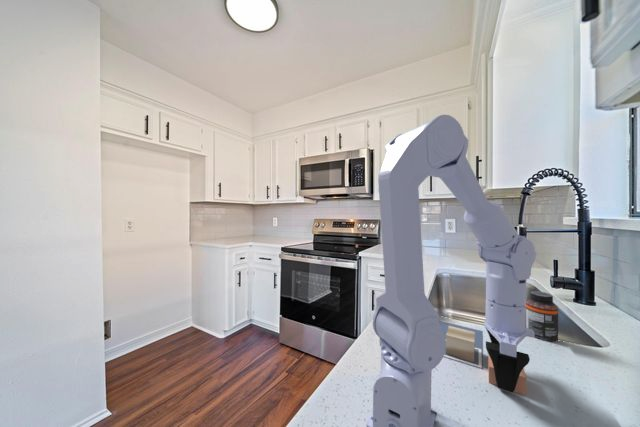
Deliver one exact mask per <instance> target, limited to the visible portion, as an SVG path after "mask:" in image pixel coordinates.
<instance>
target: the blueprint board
mask: <svg viewBox="0 0 640 427" xmlns="http://www.w3.org/2000/svg"><path fill="white" fill-rule="evenodd" d="M439 325H440V328H441V330H442V332H443V334H444V336H445V340H446V334H447V330H448V327H449V326H452V327H456V328H460V329H464V330H468V331H472V332H475V351H474V362H471V361H468V360H464V359H461V358H458V357H455V356H451V355H448V354H446V348H445V353H444V356H443V358H446V359H448V360H451V361H454V362H458V363H460V364H464V365H467V366H471V367H474V368H477V369H480V370H484V349H483V348H484V346H483V345H484V344H483V343H484V341H483V337H484V336H483V335H484V334H483V330H481V329H480V330H479V329H474V328H471V327H467V326H463V325H460V324H459V325H458V324H456V323H450V322H446V321H443V320H442V321H441V320H439Z"/></svg>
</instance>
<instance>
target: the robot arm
mask: <svg viewBox="0 0 640 427" xmlns="http://www.w3.org/2000/svg"><path fill="white" fill-rule="evenodd" d="M459 122H460V121H458V120H457V119H456V118H455V117H453V116H452V115H449V114H441V115H438V116H435V118H433V119H431V120H429V121H427V122H425V123H423V124H421V125H418V126H417V127H414V128H412V129H410V130H408V131H406V132H403V133H399V134H398V135H396V136H395V137H393V138H392V139H391V140H390V141H389V142H388V143H387V144H386V145H385V146H384V147H385V157H384V159H383V163H382V165H381V168H380V170H379V173H378V178H377V179H378V180H377V181H378V193H379V194H378V195H379V198H378V199H379V210H380V212H379V213H380V226H381V227H380V228H381V242H382V255H383V256H382V258H383V269H384V270H383V271H384V287H385V291H384V292H382V293H381V294H379V295H378V296H377V297H376V298H375V300H376V303H375V304H376V307H375V312H374V314H373V317H372V328H373V331H374V333H375V335H376V336H377V337H379V347H380V370H379V374H378V375H377V378H376V380H375V382H374V384H373V389H372V390H373V393H372V394H373V395H372V402H373V403H372V412H371V413H370V415H369V417H368V418H367V421H366V423H365V424H366V427H434V426H435V421H436V417H437V412H436V411H434V410H432V372H433V371H432V370H434V369H436V368H437V366H438V365H439V364H440V363H441V362H442V360H443V358H444V357H443V356H444V353H445V348H446V340H445V336H444V334H443V332H442V330H441V328H440V325H439V321H440V319H439V318H440V317H439V316H440V315H439V313H438V312H437V310H436V308H435V306H434V305H433V304H432V303H431V301H430V300H429V298H428V297H427V296H426V293H425V276H424V264H423V263H424V260H423V249H422V248H423V244H422V230H421V227H422V226H421V212H420V210H421V209H420V196H419V189H420V185H422V183H423V182H425V180H426V179H427V178H428V177H433V178H439V179H440V180H441V181H442V182H443V184H444V185H445V186H446V188H448V190H449V191H450V192H451V194H452V195H453V196H454V197H455V198H456V200H457V201H458V202H459V203H460V204H461V206H462V207H463V208H464V210H465V211H464V214H463V220H464V222H465V223H466V224H465V225H467V227H469V229H470V231H471V232H472V234H473V235H474V237H475V239H476V244H477V252H478V256H479V258H480V259H482V261H484V262H485V263H486V265H485V266H486V269H485V270H486V271H485V273H486V275H485V316H484V318H485V319H484V320H483V326H484V328H485V329H486V332H487V334H488V336H489V339H490V341H487V340H486V341H485V348H486V349H485V350H486V352H487V354H489V356H490V358H491V360H492V363H493V366H494V372H495V378H496V383H497V385H496V386H497V388H498V389H500V390H504V391H506V392H509V393H514V392H515V391H514V390H515V387H516V384H517V381H518V378H519V375H520V373H521V371H522V369H523V368H524V369H525V367H526V366H527V365H528V364H529V363H530V356H529V354H528V353H525V352H521V351H517V350H518V349H517V348H518V346H519V344H520V343H522V341H523V340H525V338H526V337H527V338H534V337H535V333H534V331H533V330H532V329H528V328H525V323H526V301H527V280H529V279H530V277H531V275H532V267H533V265H534V263H535V261H536V256H537V251H536V248H535V245H534V243H533V242H532V241H531V240H530V239H528V238H527V237H525V236H523V235H519V232H518V231H517V229H516V228H515V227H514V225H513V223H512V222H511V220H510V218H509V217H508V216H507V214H506V212H505V211H504V208H503V207H502V206H501V204H500V203H499V202H497V201H494V200H488V198H487V196H486V194H485V191H483V189H482V187H481V185H480V182H479V180H478V178H477V176H476V174H475V172H474V170H473V169H472V166H471V164H470V162H469V160H468V158H467V152H468V149H469V139H468V138H467V136H466V135H465V133H464V130H463V127H462V126H461V123H459Z"/></svg>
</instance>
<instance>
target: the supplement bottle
mask: <svg viewBox="0 0 640 427" xmlns="http://www.w3.org/2000/svg"><path fill="white" fill-rule="evenodd" d="M525 328H528V329H532V330H533V331H534V333H535V337H533V338H534V339H537V340H540V341H545V342H549V343H550V342H551V343H555V342H558V341H559V307H558V305H557V304H555V303H554V296H553V295H552V294H551V293H548V292H545V291H537V290H533V291H530V298H529V299H526V320H525Z"/></svg>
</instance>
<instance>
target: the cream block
mask: <svg viewBox="0 0 640 427" xmlns="http://www.w3.org/2000/svg"><path fill="white" fill-rule="evenodd" d="M474 351H475V332H472V331H468V330H464V329H460V328H456V327H452V326H449V327H448V330H447V334H446V354H448V355H451V356H455V357H458V358H461V359H464V360H468V361H471V362H474Z"/></svg>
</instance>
